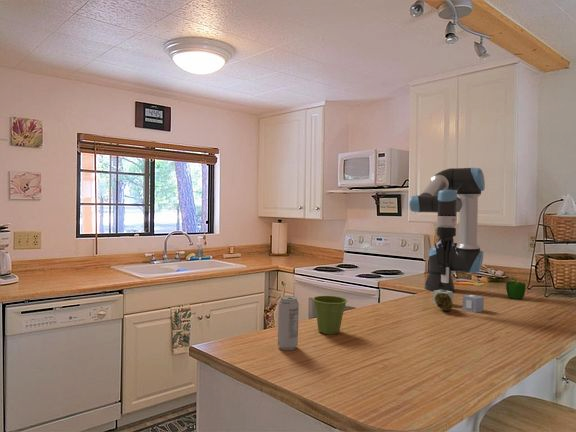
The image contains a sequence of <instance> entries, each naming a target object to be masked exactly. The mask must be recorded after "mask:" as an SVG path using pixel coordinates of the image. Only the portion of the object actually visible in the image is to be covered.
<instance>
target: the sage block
mask: <svg viewBox="0 0 576 432" xmlns="http://www.w3.org/2000/svg"><path fill="white" fill-rule="evenodd" d="M432 293H433V295H432V297H433V298H432V299H433V300H432V304H433V305H437V304H436V302H435V299H434V298H435V296H436V295H437V294H438V293H445V294H448V295H449V296H450V298H451V300H452V304H453V301H454V291H446V290H435V291H433V292H432ZM453 305H454V304H453Z"/></svg>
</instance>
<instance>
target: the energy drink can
mask: <svg viewBox="0 0 576 432" xmlns="http://www.w3.org/2000/svg"><path fill="white" fill-rule="evenodd" d="M299 306H300V304H299V301H298V298H297V297H295V296H290V295H286V296H281V297H280V300H279V302H278V310H277V311H278V313H277V315H278V316H277V346H278V347H279V349H280V350H282V351H283V350H284V351H293V350H296V349H297V346H298V345H299V343H298V341H299V339H298V338H299V312H300V311H299V308H300V307H299Z"/></svg>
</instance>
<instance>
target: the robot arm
mask: <svg viewBox="0 0 576 432" xmlns="http://www.w3.org/2000/svg"><path fill="white" fill-rule="evenodd" d="M485 187H486V183H485V176H484V172H483V169H481V168H480V167H462V168H459V167H457V168H456V167H455V168H452V167H451V168H447V169H443V170H441V171H439V172H437V173H435V174H434V175H433V176H432V177H431V178H430V180H429V183H428V185H426V187H425V188H424V190H423V191H422V192H421V193H420V194H419V195H412V196H410V198H409V201H408V202H409V205H408V206H409V210H410V211H411V212H414V213H437V216H436V217H437V218H436V225H437V228H436V236H437V237H438V240H437V241H438V242H436V243H434V247H430V249H429V253H428V275H427V278H426V279H425V283H424V289H425V290H428V291H431V292H432V291H435V290H446V291H452V292H455V283H454V281H453V276H452V274H453V273H452V272H458V273H468V274H477V273H478V274H479V272H480V271H481V270H482V269H481V268H482V267H483V266H482V265H483V262H484V260H483V259H484V251H483V250H481V247H480V245H479V244H478V215H479V214H478V210H479V209H478V207H479V205H478V202H479V201H478V200H479V197H480V196H481V195H482V192H483V191H485V189H486V188H485ZM458 212H459V232H458V233H459V235H458V237H459V238H458V240H459V241H458V243H457V242H454V241H455V240H454V237H456V235H457V228H456V226H457V213H458Z"/></svg>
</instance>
